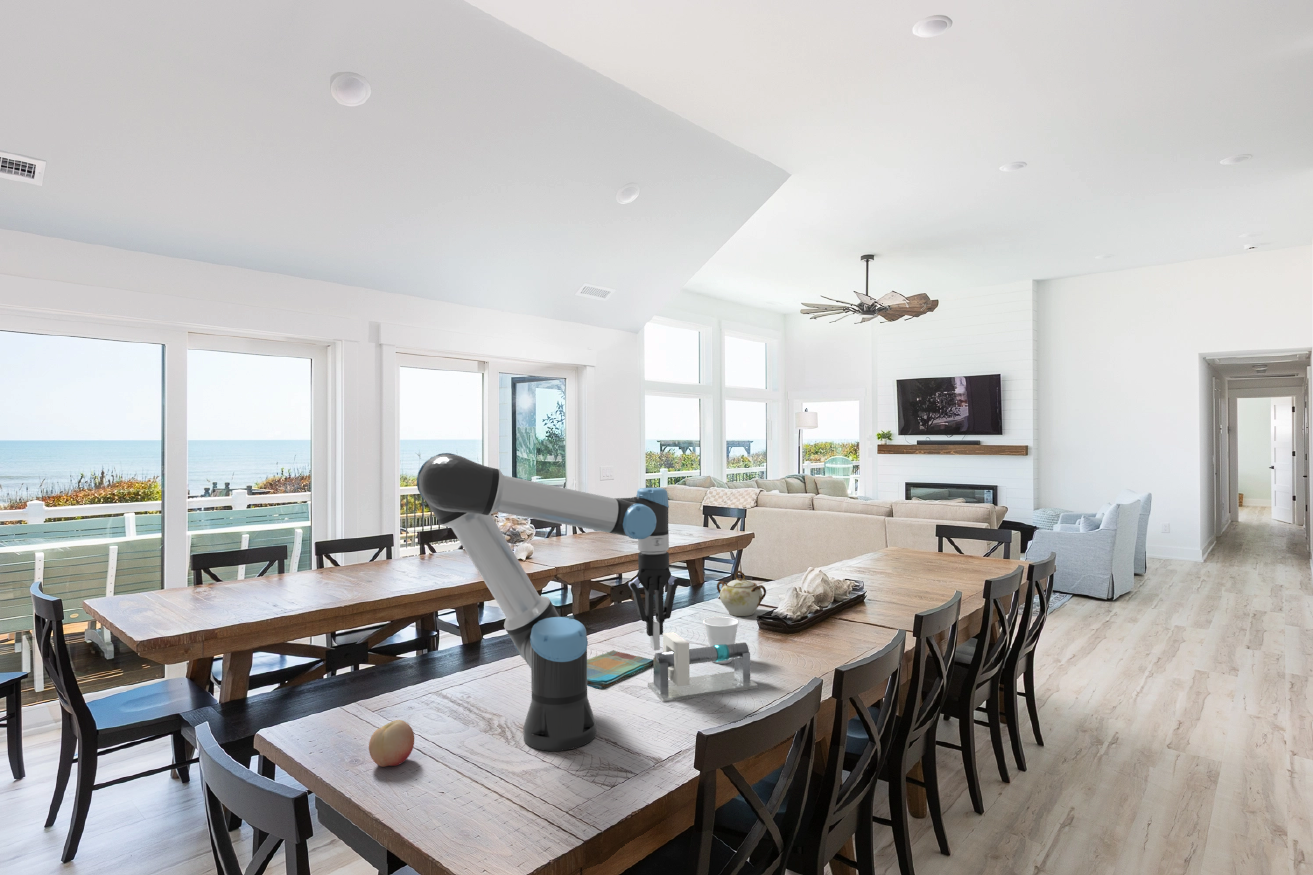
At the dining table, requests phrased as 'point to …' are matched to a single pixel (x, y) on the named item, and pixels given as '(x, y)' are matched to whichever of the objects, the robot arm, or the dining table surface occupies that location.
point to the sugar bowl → (741, 596)
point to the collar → (677, 658)
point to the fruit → (391, 743)
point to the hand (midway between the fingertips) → (655, 648)
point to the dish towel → (613, 668)
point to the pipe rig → (707, 682)
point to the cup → (720, 632)
